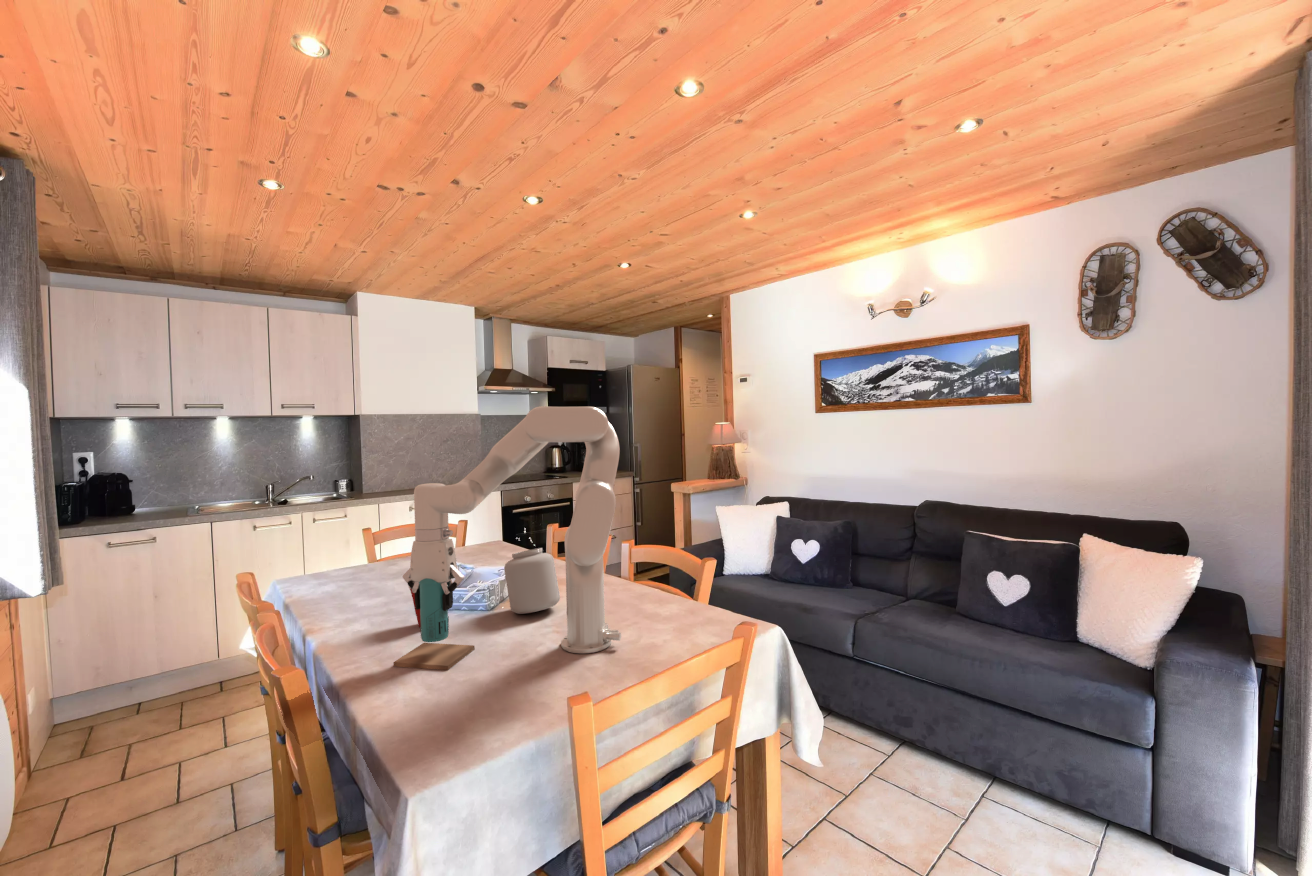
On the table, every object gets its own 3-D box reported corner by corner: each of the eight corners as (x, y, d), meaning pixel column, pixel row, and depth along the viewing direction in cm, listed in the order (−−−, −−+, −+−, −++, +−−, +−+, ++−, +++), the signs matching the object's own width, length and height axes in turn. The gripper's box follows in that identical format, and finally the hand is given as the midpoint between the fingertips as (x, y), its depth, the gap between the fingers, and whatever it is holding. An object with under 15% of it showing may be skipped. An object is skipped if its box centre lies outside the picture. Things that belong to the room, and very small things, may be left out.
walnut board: (474, 649, 140) (474, 645, 140) (448, 670, 128) (447, 665, 128) (424, 646, 143) (423, 642, 143) (393, 666, 131) (393, 662, 131)
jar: (491, 612, 169) (488, 529, 168) (528, 599, 181) (527, 522, 180) (532, 624, 157) (530, 535, 157) (570, 609, 169) (568, 527, 169)
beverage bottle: (439, 649, 131) (437, 565, 131) (414, 648, 133) (411, 564, 132) (454, 639, 138) (452, 558, 137) (430, 637, 139) (428, 557, 139)
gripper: (473, 532, 137) (474, 605, 137) (409, 531, 140) (411, 602, 140) (456, 538, 129) (458, 615, 130) (389, 537, 133) (391, 612, 133)
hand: (434, 607), depth 135 cm, fingers closed on beverage bottle, 6 cm apart
